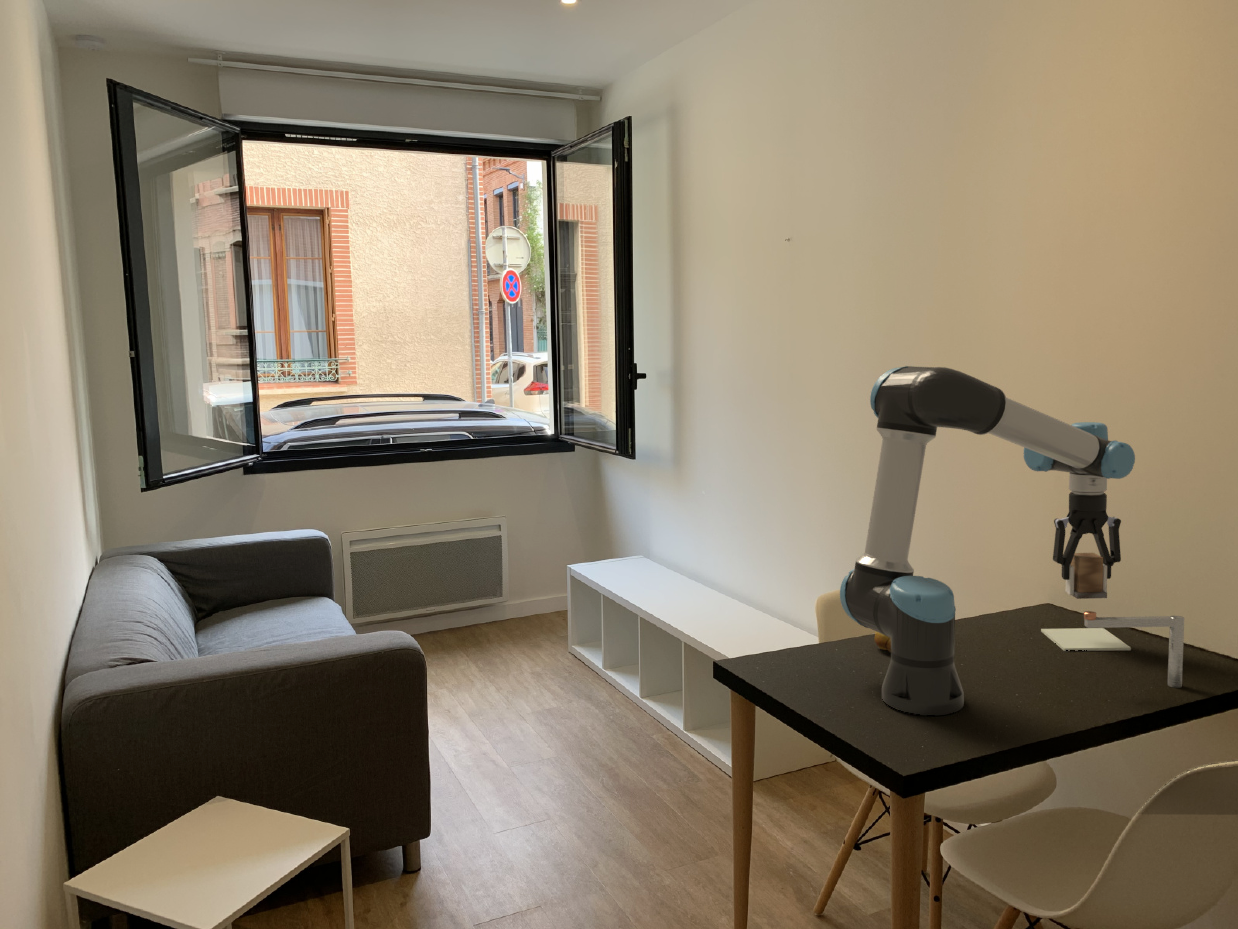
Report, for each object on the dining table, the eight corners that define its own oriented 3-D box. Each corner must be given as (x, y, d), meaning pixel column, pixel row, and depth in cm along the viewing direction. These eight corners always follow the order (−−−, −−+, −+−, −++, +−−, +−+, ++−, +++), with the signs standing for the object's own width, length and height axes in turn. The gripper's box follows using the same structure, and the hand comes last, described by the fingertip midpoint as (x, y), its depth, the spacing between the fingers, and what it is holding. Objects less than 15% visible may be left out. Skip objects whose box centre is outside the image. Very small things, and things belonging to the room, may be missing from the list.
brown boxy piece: (1077, 598, 206) (1077, 559, 205) (1065, 591, 212) (1066, 552, 211) (1107, 598, 206) (1107, 558, 204) (1094, 590, 212) (1095, 551, 211)
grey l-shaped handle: (1184, 687, 181) (1187, 613, 179) (1085, 688, 183) (1086, 614, 181) (1177, 683, 183) (1180, 609, 181) (1080, 684, 185) (1081, 611, 183)
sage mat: (1064, 651, 204) (1064, 648, 204) (1041, 631, 218) (1041, 629, 218) (1130, 650, 203) (1130, 647, 203) (1103, 630, 217) (1103, 628, 217)
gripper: (1048, 496, 203) (1047, 598, 206) (1141, 493, 201) (1138, 596, 204) (1036, 490, 211) (1035, 589, 214) (1125, 487, 209) (1123, 587, 212)
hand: (1085, 593), depth 209 cm, fingers closed on brown boxy piece, 6 cm apart
